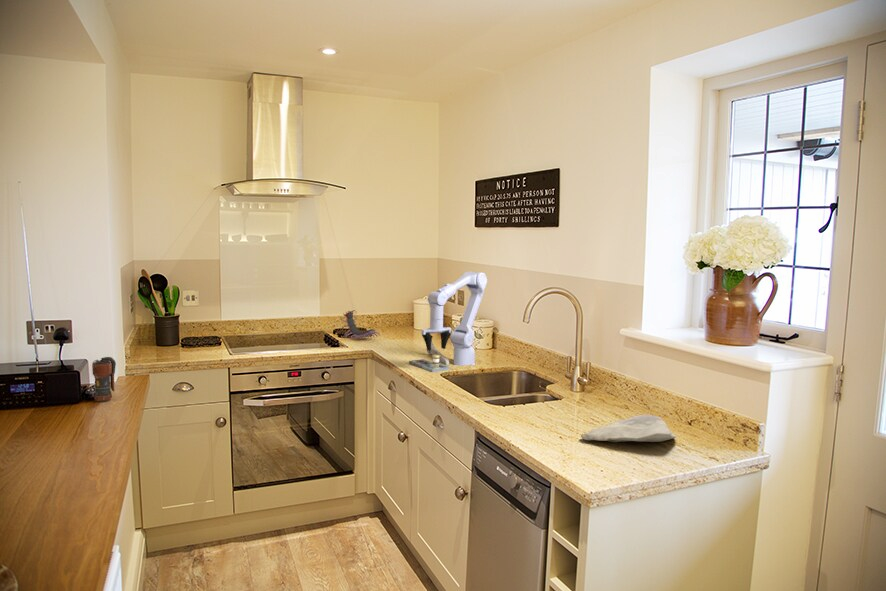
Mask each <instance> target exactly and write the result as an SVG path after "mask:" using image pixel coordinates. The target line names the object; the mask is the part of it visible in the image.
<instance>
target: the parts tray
mask: <svg viewBox="0 0 886 591" xmlns="http://www.w3.org/2000/svg"><path fill="white" fill-rule="evenodd" d="M450 368H451V367H450V366H449V365H446V364H442V363H439V368H437V369H432V364H428V365H422V368H421V369H423V370H425V371H429V372H432V373H436V372H444V371H450Z"/></svg>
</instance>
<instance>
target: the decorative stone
mask: <svg viewBox="0 0 886 591" xmlns="http://www.w3.org/2000/svg"><path fill="white" fill-rule="evenodd" d="M580 437H581V439H582V440H586V441H607V442H610V443H622V442H646V443H648V442H649V443H659V442H665V441H668V440H672V439H676V438H677V436H676V434H675V433H673V432H672V430H670V429H669V427H668V425H667V423H666V422H665V420H663V418H661V417H660V416H657V415H656V416H655V415H652V414H636V415H634V416H632V417H628V418H625V419H620V420H617V421H614V422H611V423H610V424H609V425H605V426H599V427H596V428H593V429H591V430H589V431H588V433H582V434H581V435H580Z"/></svg>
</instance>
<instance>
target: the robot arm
mask: <svg viewBox="0 0 886 591" xmlns="http://www.w3.org/2000/svg"><path fill="white" fill-rule="evenodd" d="M487 284H488V277H487V274H486V273H484V272H477V271H476V272H475V271H470V270H469V271H466V272H464V273H463V274H462V275H461V276H460V277H459V278H458V279H456V280H455V281H454V282H453V283H444V285H443V286H442V287H440V288H437V290H436V291H431V292H430V293H429V295H428V297H427V302H428V303H429V304H428V305H429V308H430V311H429V313H430V314H429V315H430V316H429V320H430V322H429V327H428V328H425V329H421V331H420V334H421V337H422V338H423V341H424V344H425V345H426V346H425V347H426V349H427V350H429V351H430V350H431V341H432V342H433V335H431V334H440V340H441V341H440V343H441V344H440V345H441V347H440V348H441V349H443V350H445V349H446V347H447V343H448V341H449V339H450V343H451V344H452V347H453V359H452V360H453V365H455V366H461V367H465V366H473V365H475V366H476V364H475V361H476V360H475V357H476V353H475V352H476V351H475V349H474V347H473V346H472V345H473V343H474V337H475V331H474V330H473V329H472V328H473V325H474V322H475V320H476V317H477V314H478V310H479V308H480V305H481V302H482V300H483V297H484V294H485V289H486V286H487ZM463 287H466V288H467V289H468V291H470V296H469V298H468V302H467V304H466V307H465V310H464V313H463V315H462V318H461V322H460V324H458V325H456V326H455V327H454V329H453V331H452V327H450V326H449V327H448V326H447V327H445V326H444V305H446V304H447V301H448V300H449V299H450V298H452V297H453V296H455V295H456V293H457V291H458V290H460V289H462V288H463ZM427 350H426V351H427Z"/></svg>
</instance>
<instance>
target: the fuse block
mask: <svg viewBox="0 0 886 591" xmlns="http://www.w3.org/2000/svg"><path fill="white" fill-rule="evenodd" d="M408 364H409V365H412V366H415V367H416V368H419V369H423V368H422V365H428V364H432V361H430V360H427V359H425V358H424V359H423V358H422V359H421V358H420V359H413V360H408Z"/></svg>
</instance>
